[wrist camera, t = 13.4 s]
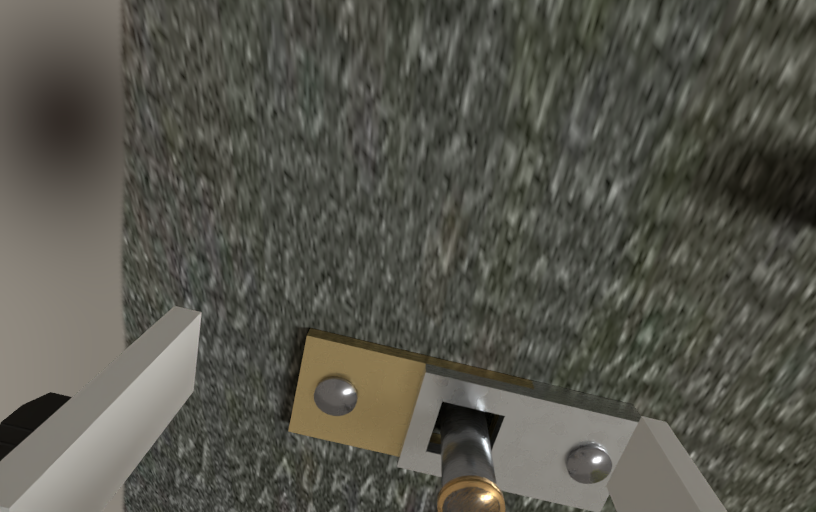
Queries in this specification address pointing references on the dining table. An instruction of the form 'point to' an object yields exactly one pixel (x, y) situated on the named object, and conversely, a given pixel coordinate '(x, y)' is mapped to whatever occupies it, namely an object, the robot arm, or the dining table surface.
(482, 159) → the dining table surface
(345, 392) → the link
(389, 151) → the dining table surface
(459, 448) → the pin
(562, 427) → the link
